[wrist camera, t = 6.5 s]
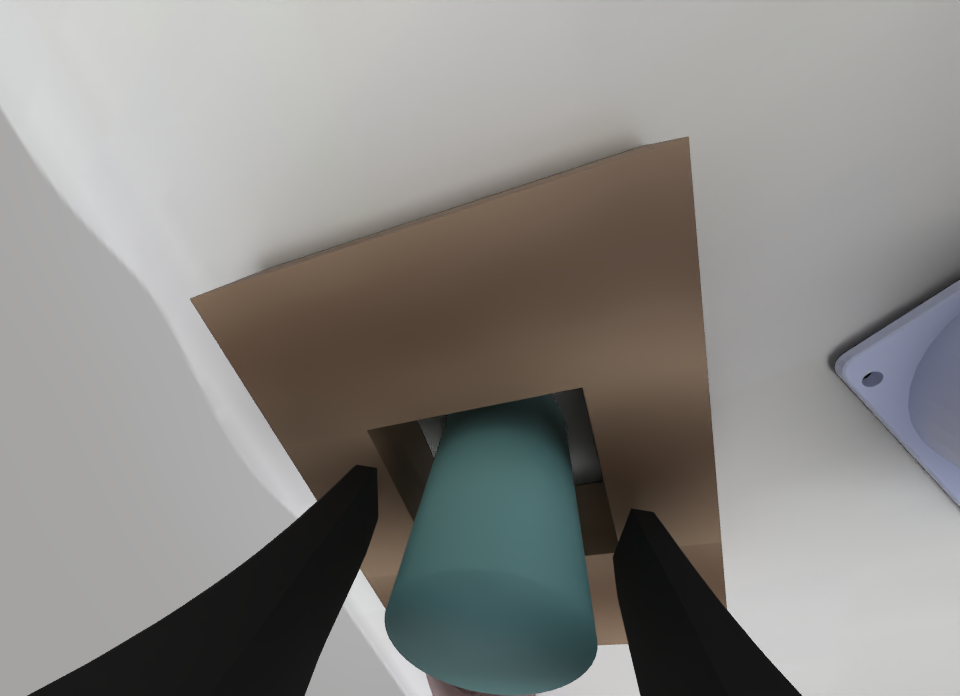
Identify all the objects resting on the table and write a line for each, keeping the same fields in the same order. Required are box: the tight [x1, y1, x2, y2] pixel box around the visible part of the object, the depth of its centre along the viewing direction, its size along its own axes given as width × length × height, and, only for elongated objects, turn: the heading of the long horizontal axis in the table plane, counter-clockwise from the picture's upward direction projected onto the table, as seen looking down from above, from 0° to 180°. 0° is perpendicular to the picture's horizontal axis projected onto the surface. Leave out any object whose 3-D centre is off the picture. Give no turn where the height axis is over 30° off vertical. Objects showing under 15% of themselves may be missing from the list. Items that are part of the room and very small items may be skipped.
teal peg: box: [385, 394, 597, 695], centre depth 11 cm, size 4×4×7 cm
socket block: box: [190, 137, 727, 645], centre depth 13 cm, size 16×12×3 cm
